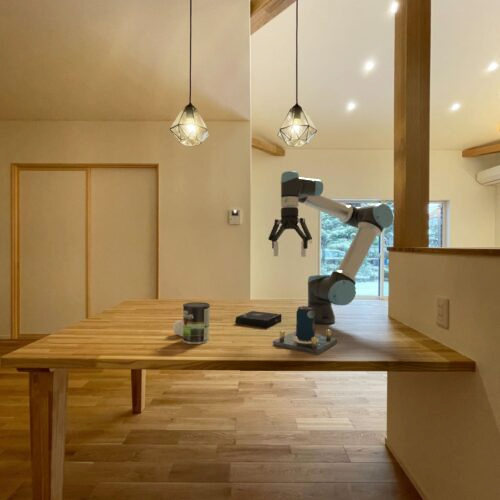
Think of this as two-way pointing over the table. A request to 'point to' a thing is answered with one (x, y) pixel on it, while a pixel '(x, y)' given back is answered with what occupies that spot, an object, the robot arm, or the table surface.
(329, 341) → the chassis plate
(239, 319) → the portable cd player
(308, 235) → the robot arm
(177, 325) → the duck figurine
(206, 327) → the coffee can
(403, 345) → the table surface
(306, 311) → the soda can
